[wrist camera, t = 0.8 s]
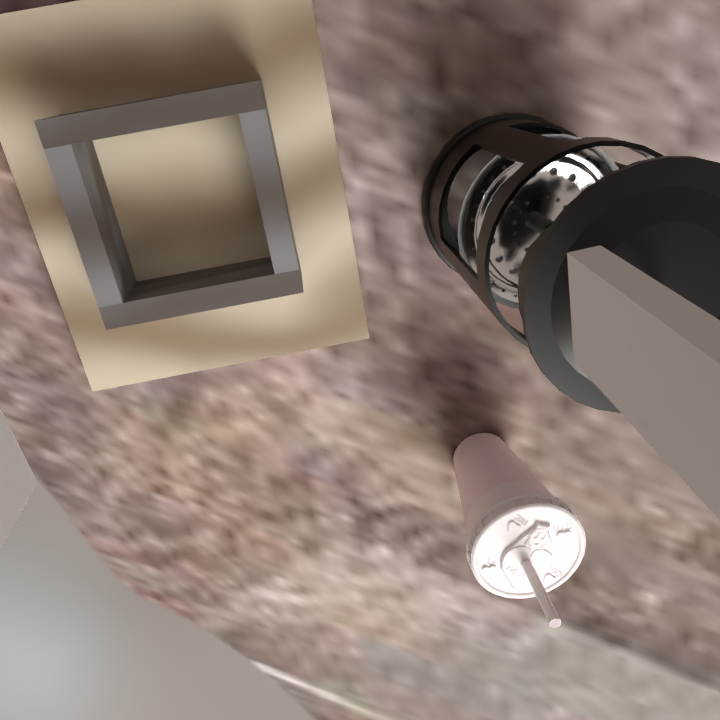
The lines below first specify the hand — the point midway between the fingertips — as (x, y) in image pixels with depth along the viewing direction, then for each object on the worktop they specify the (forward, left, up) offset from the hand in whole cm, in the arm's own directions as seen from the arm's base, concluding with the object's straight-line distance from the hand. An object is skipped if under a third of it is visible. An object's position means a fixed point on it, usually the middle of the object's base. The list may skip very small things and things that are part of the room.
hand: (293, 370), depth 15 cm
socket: (-1, -5, -23) cm, 24 cm away
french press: (+3, +12, -24) cm, 27 cm away
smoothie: (+19, +9, -24) cm, 32 cm away
